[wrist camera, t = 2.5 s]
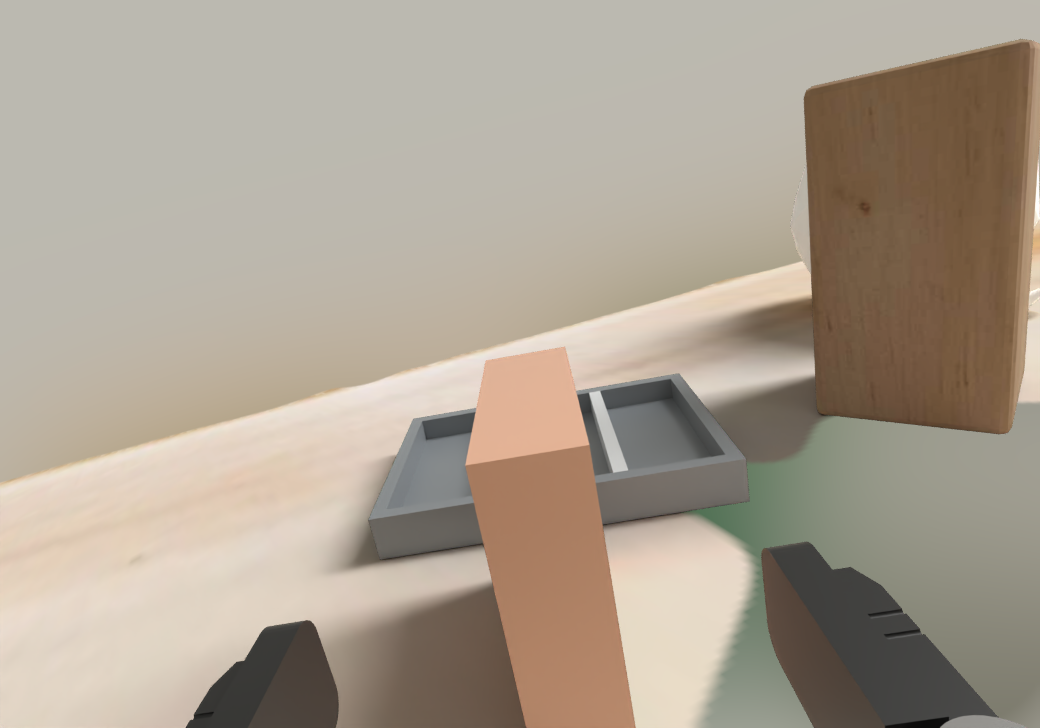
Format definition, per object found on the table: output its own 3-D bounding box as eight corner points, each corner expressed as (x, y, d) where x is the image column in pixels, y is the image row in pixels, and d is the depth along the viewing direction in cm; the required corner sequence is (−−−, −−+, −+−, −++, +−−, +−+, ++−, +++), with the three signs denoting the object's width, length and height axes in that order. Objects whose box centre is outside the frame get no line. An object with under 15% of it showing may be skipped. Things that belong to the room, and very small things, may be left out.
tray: (749, 501, 32) (746, 458, 31) (379, 559, 33) (368, 519, 32) (682, 404, 45) (679, 373, 45) (420, 448, 46) (413, 418, 46)
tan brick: (638, 745, 20) (589, 444, 17) (533, 760, 20) (465, 465, 17) (600, 561, 30) (565, 346, 26) (530, 572, 30) (485, 360, 26)
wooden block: (814, 416, 40) (800, 88, 34) (855, 364, 47) (849, 84, 41) (1010, 439, 33) (1035, 35, 27) (1024, 374, 40) (1046, 41, 34)
